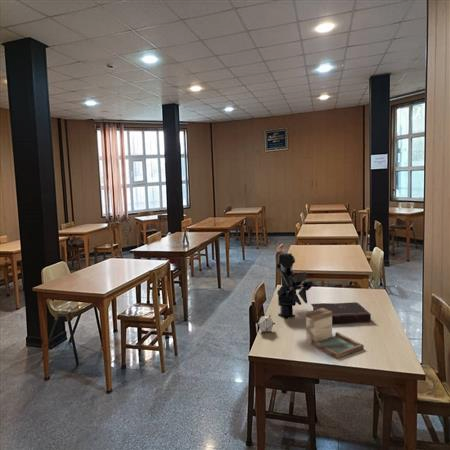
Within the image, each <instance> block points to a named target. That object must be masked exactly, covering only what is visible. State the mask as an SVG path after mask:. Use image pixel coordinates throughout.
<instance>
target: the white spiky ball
mask: <svg viewBox="0 0 450 450" xmlns="http://www.w3.org/2000/svg"><path fill="white" fill-rule="evenodd" d="M273 321H274V320H273V319H272V318H271V314H269V315H265V316H262V315H259V320H258V322H257V325H258V327H259V329H260V334H262V333H263V332H270V333H272V332H273V331H272V329H273V326H274V325H276V323H275V322H273Z"/></svg>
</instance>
